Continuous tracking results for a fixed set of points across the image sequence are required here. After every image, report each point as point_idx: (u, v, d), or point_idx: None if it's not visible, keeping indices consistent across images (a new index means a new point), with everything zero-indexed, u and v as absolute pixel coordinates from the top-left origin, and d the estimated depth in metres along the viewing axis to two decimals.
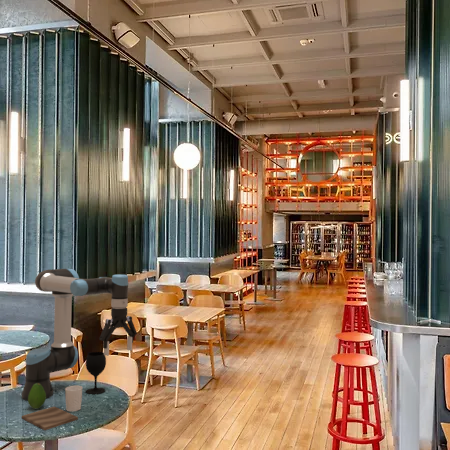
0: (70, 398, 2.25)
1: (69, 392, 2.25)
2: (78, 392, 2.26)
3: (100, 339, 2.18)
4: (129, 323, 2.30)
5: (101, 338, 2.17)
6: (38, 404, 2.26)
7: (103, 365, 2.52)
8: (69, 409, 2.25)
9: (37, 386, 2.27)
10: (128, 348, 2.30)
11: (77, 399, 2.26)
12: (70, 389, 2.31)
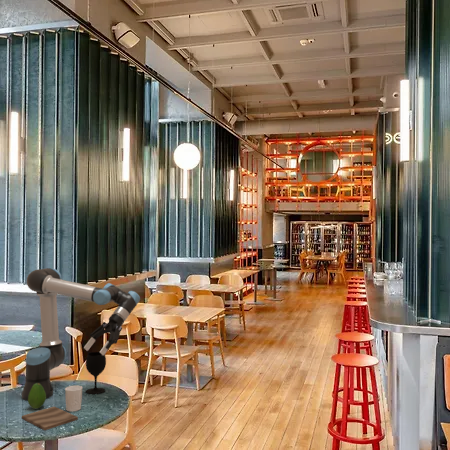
0: (70, 398, 2.25)
1: (69, 392, 2.25)
2: (78, 392, 2.26)
3: (114, 341, 2.34)
4: (101, 328, 2.48)
5: (115, 341, 2.35)
6: (38, 404, 2.26)
7: (103, 365, 2.52)
8: (69, 409, 2.25)
9: (37, 386, 2.27)
10: (86, 347, 2.41)
11: (77, 399, 2.26)
12: (70, 389, 2.31)
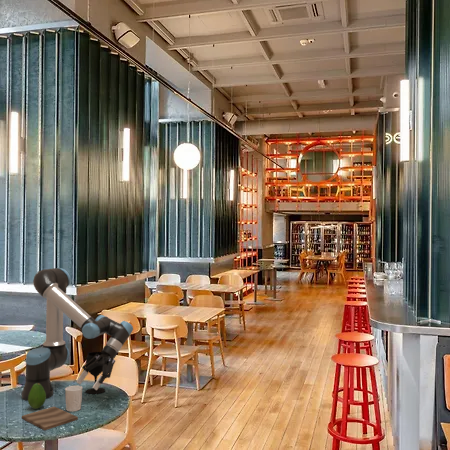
0: (70, 398, 2.25)
1: (69, 392, 2.25)
2: (78, 392, 2.26)
3: (107, 375, 2.30)
4: None
5: (109, 375, 2.30)
6: (38, 404, 2.26)
7: None
8: (69, 409, 2.25)
9: (37, 386, 2.27)
10: (79, 381, 2.36)
11: (77, 399, 2.26)
12: (70, 389, 2.31)
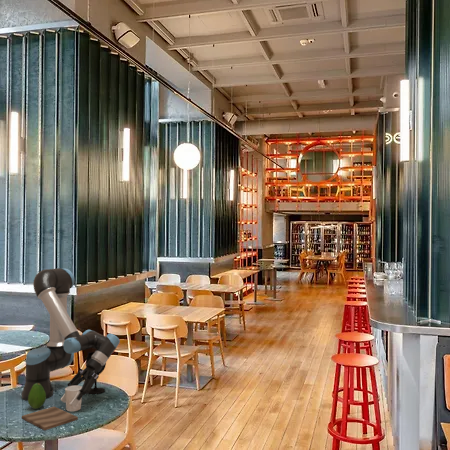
0: (70, 398, 2.25)
1: (69, 392, 2.24)
2: None
3: (86, 392, 2.25)
4: (79, 376, 2.37)
5: (87, 391, 2.26)
6: (38, 404, 2.26)
7: None
8: (69, 409, 2.25)
9: (37, 386, 2.27)
10: (63, 399, 2.28)
11: None
12: (70, 389, 2.31)
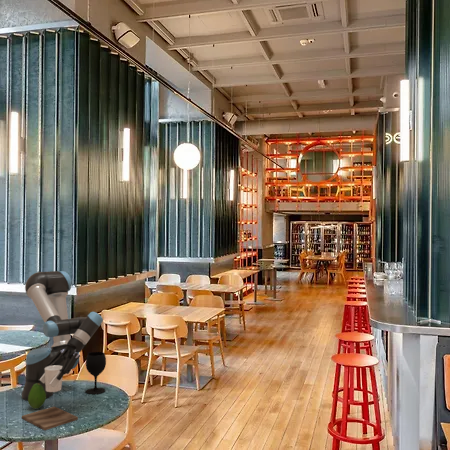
0: (50, 378, 2.13)
1: (49, 372, 2.13)
2: None
3: (66, 371, 2.13)
4: (59, 355, 2.25)
5: (68, 371, 2.14)
6: (38, 404, 2.26)
7: (103, 365, 2.52)
8: (49, 390, 2.13)
9: (37, 386, 2.27)
10: (42, 379, 2.17)
11: None
12: (50, 369, 2.19)
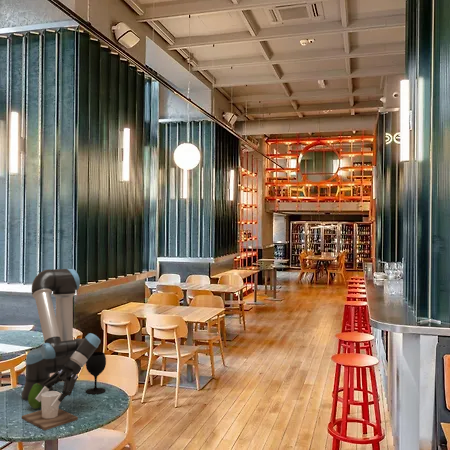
0: (46, 404, 2.12)
1: (45, 398, 2.12)
2: (54, 398, 2.13)
3: (68, 393, 2.12)
4: (56, 376, 2.25)
5: (69, 393, 2.12)
6: (38, 404, 2.26)
7: (103, 365, 2.52)
8: (45, 416, 2.13)
9: (37, 386, 2.27)
10: (38, 398, 2.18)
11: None
12: (47, 395, 2.19)
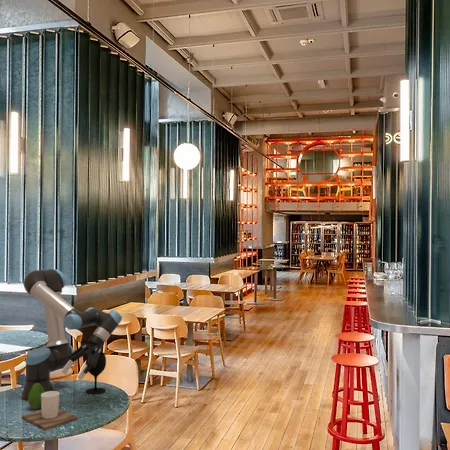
0: (46, 405, 2.12)
1: (45, 399, 2.12)
2: (54, 398, 2.13)
3: (93, 365, 2.21)
4: (80, 350, 2.35)
5: (94, 365, 2.22)
6: (38, 404, 2.26)
7: (103, 365, 2.52)
8: (45, 416, 2.13)
9: (37, 386, 2.27)
10: (64, 371, 2.28)
11: (53, 406, 2.13)
12: (46, 395, 2.18)
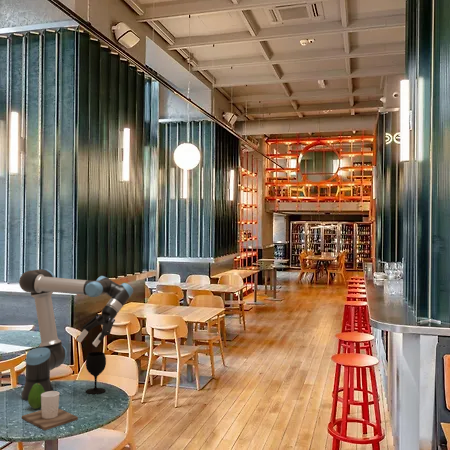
0: (46, 405, 2.12)
1: (45, 399, 2.12)
2: (54, 398, 2.13)
3: (107, 333, 2.34)
4: (94, 320, 2.47)
5: (108, 332, 2.34)
6: (38, 404, 2.26)
7: (103, 365, 2.52)
8: (45, 416, 2.13)
9: (37, 386, 2.27)
10: (79, 339, 2.40)
11: (53, 406, 2.13)
12: (46, 395, 2.18)
